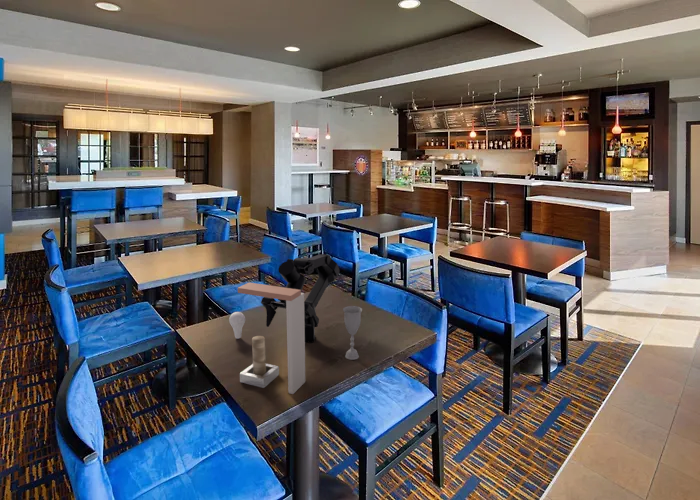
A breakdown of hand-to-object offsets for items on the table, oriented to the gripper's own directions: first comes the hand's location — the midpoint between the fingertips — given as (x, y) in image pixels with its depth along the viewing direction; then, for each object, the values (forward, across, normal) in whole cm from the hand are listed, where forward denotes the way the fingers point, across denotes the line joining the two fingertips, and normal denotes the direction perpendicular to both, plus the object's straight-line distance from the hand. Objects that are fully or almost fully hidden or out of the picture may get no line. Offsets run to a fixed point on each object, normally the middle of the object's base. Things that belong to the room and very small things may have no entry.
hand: (278, 328), depth 149 cm
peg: (+18, 0, 0) cm, 18 cm away
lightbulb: (+2, -25, +16) cm, 30 cm away
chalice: (-1, +22, +19) cm, 29 cm away
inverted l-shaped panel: (+18, +5, 0) cm, 18 cm away
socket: (+18, 0, 0) cm, 18 cm away
